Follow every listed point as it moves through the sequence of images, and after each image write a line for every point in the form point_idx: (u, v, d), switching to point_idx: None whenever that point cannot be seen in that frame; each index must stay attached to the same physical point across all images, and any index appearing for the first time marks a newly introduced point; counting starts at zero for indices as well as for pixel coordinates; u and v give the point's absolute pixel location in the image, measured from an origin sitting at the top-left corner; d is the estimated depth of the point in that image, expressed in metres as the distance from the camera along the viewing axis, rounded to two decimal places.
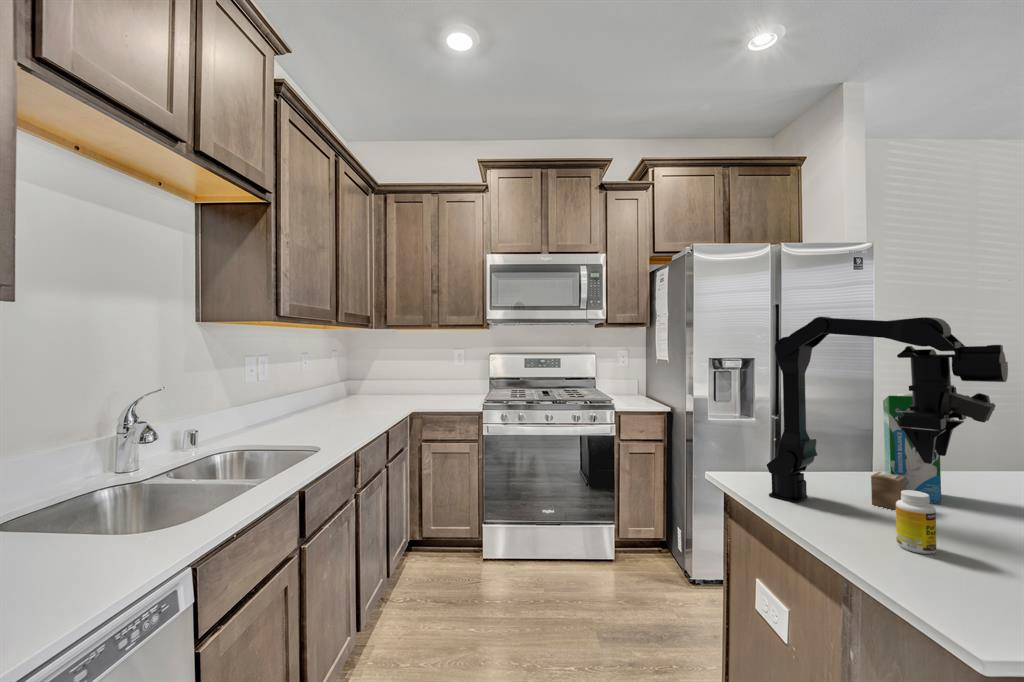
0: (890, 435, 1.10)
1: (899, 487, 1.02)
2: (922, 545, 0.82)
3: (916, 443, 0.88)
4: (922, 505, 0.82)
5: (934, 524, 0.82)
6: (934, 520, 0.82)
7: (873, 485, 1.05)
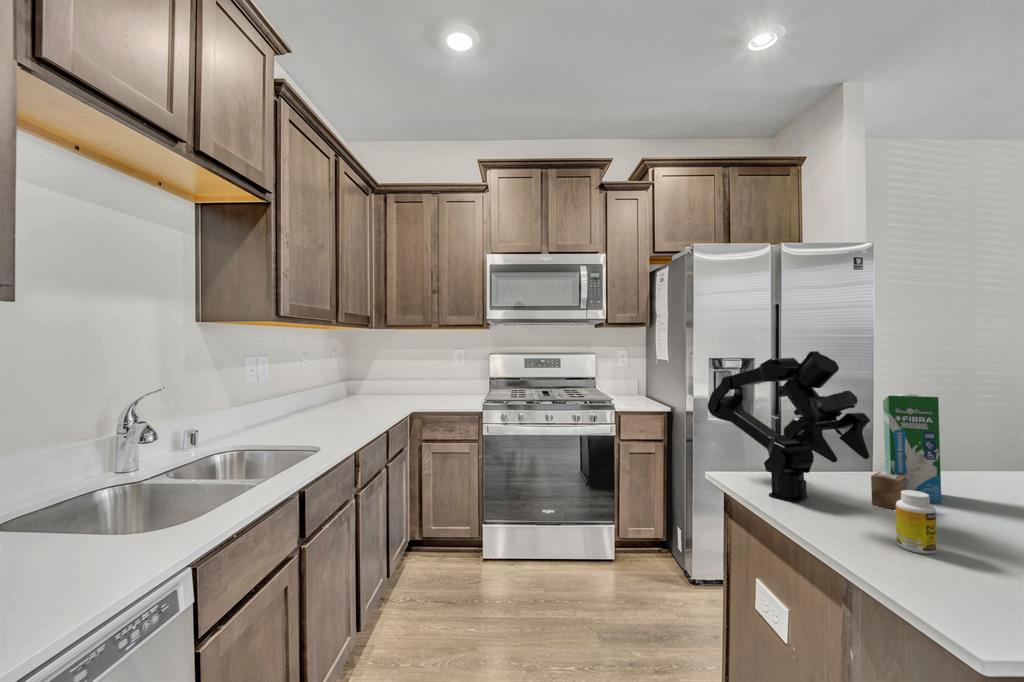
0: (890, 435, 1.10)
1: (899, 487, 1.02)
2: (922, 545, 0.82)
3: (815, 449, 0.98)
4: (922, 505, 0.82)
5: (934, 524, 0.82)
6: (934, 520, 0.82)
7: (873, 485, 1.05)
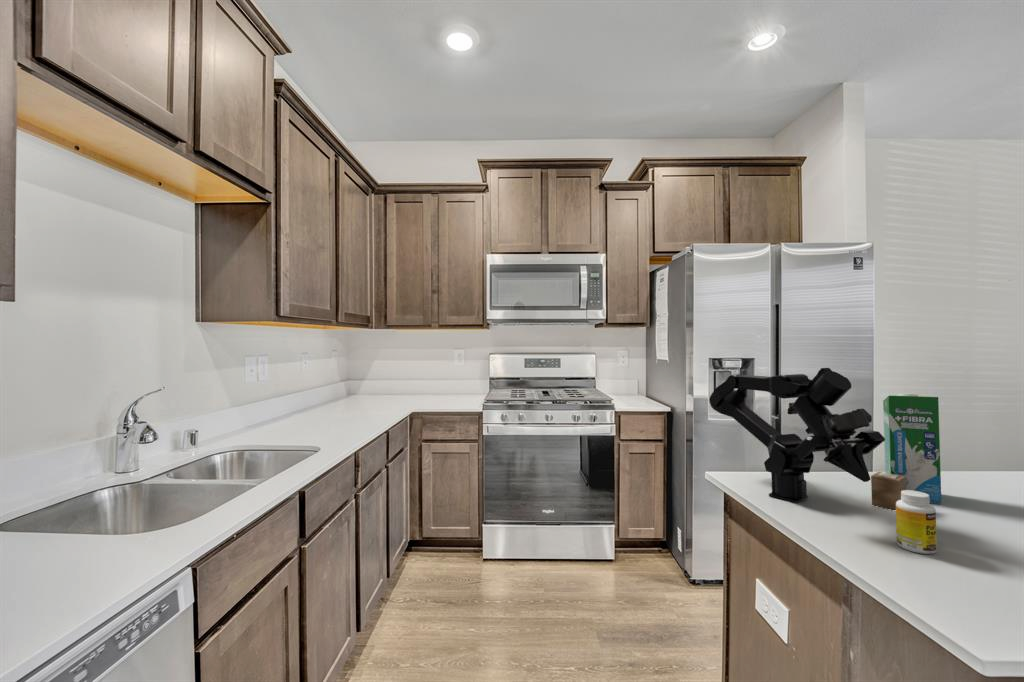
0: (890, 435, 1.10)
1: (899, 487, 1.02)
2: (922, 545, 0.82)
3: (845, 468, 0.96)
4: (922, 505, 0.82)
5: (934, 524, 0.82)
6: (934, 520, 0.82)
7: (873, 485, 1.05)
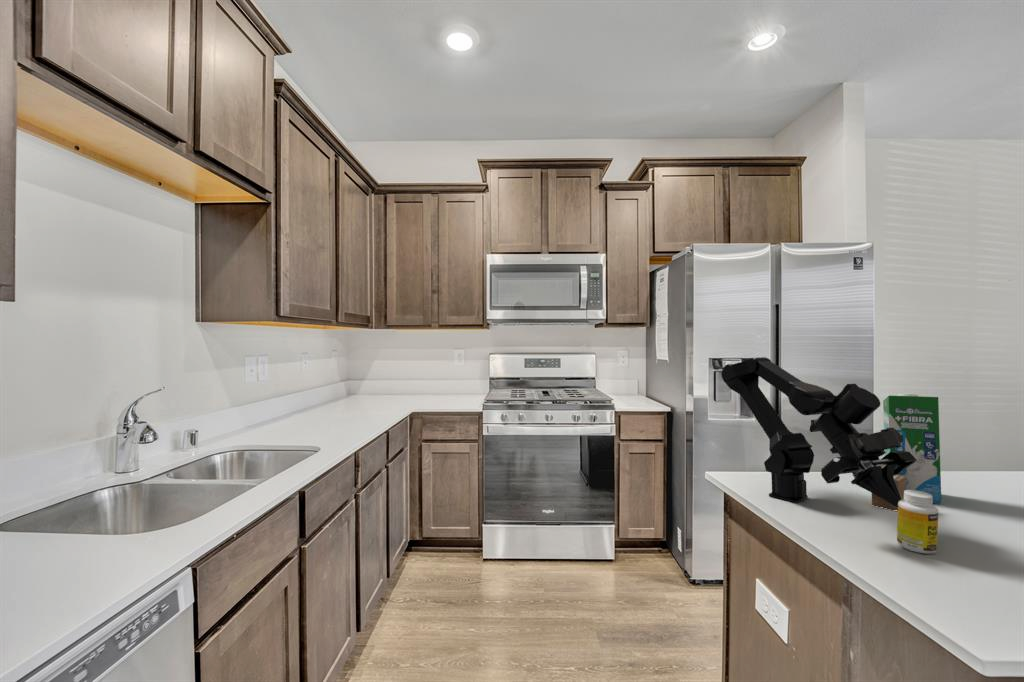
0: None
1: (899, 487, 1.02)
2: (923, 545, 0.82)
3: (874, 491, 0.90)
4: (925, 505, 0.82)
5: (936, 524, 0.82)
6: (936, 521, 0.81)
7: None
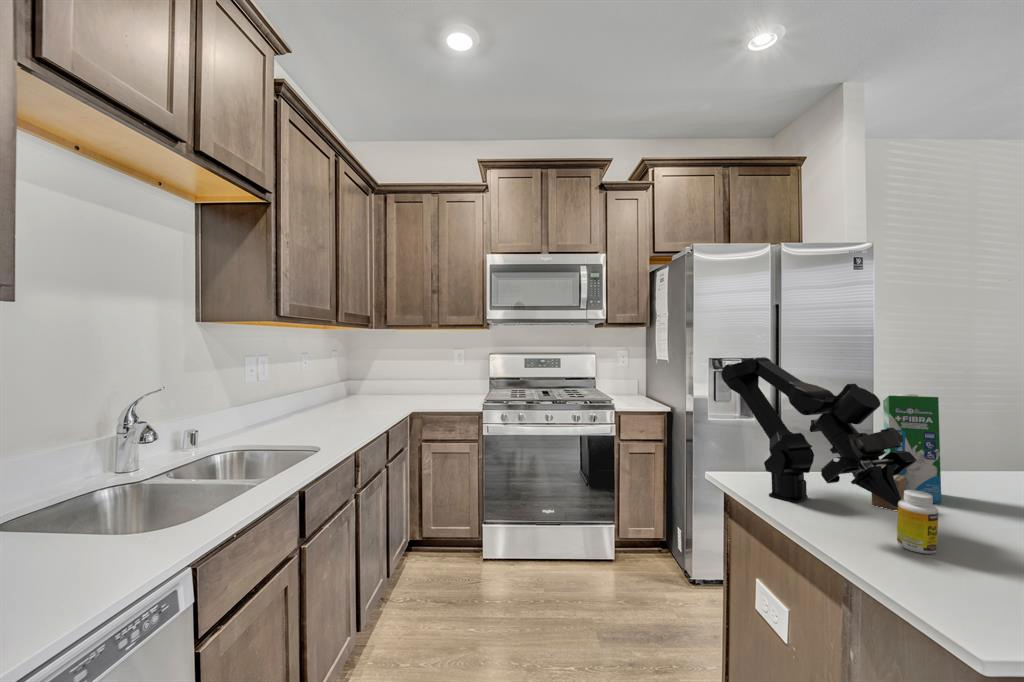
0: None
1: (899, 487, 1.02)
2: (923, 545, 0.82)
3: (874, 491, 0.90)
4: (925, 505, 0.82)
5: (936, 524, 0.82)
6: (936, 521, 0.81)
7: None
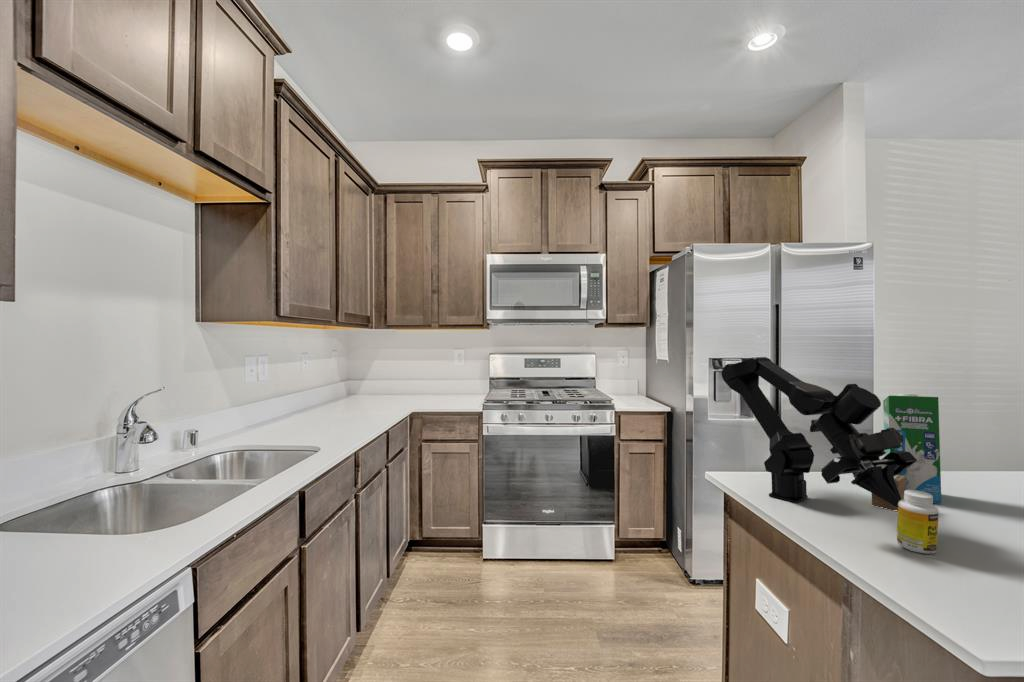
0: None
1: (899, 487, 1.02)
2: (923, 545, 0.82)
3: (875, 491, 0.90)
4: (925, 505, 0.82)
5: (936, 525, 0.82)
6: (936, 521, 0.81)
7: None
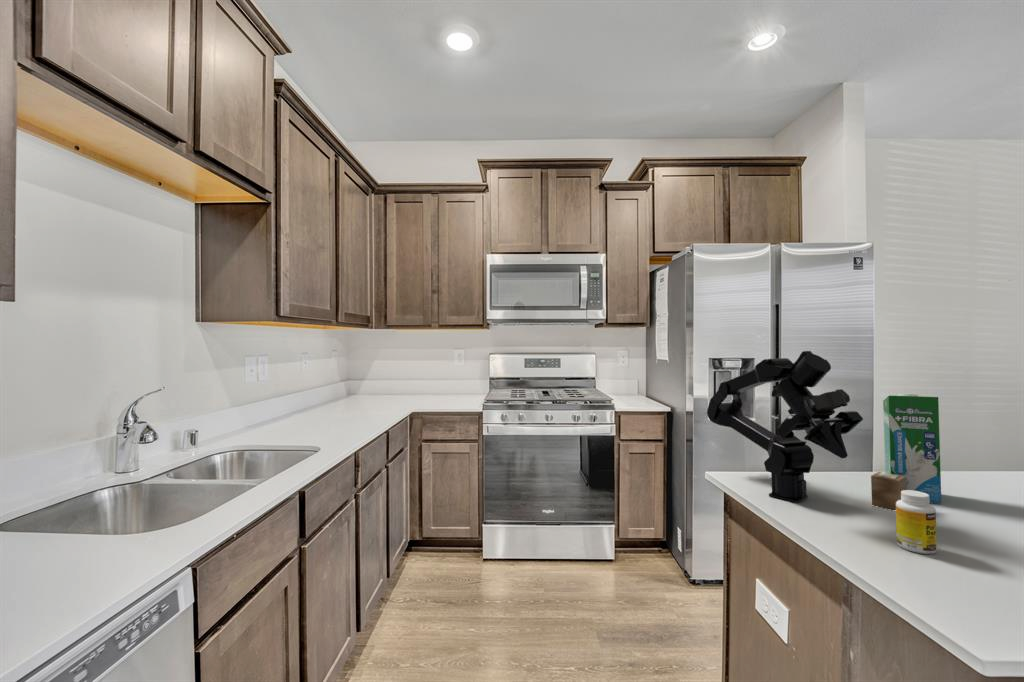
0: (890, 435, 1.10)
1: (899, 487, 1.02)
2: (922, 545, 0.82)
3: (824, 445, 1.01)
4: (922, 505, 0.82)
5: (934, 524, 0.82)
6: (934, 520, 0.82)
7: (873, 485, 1.05)
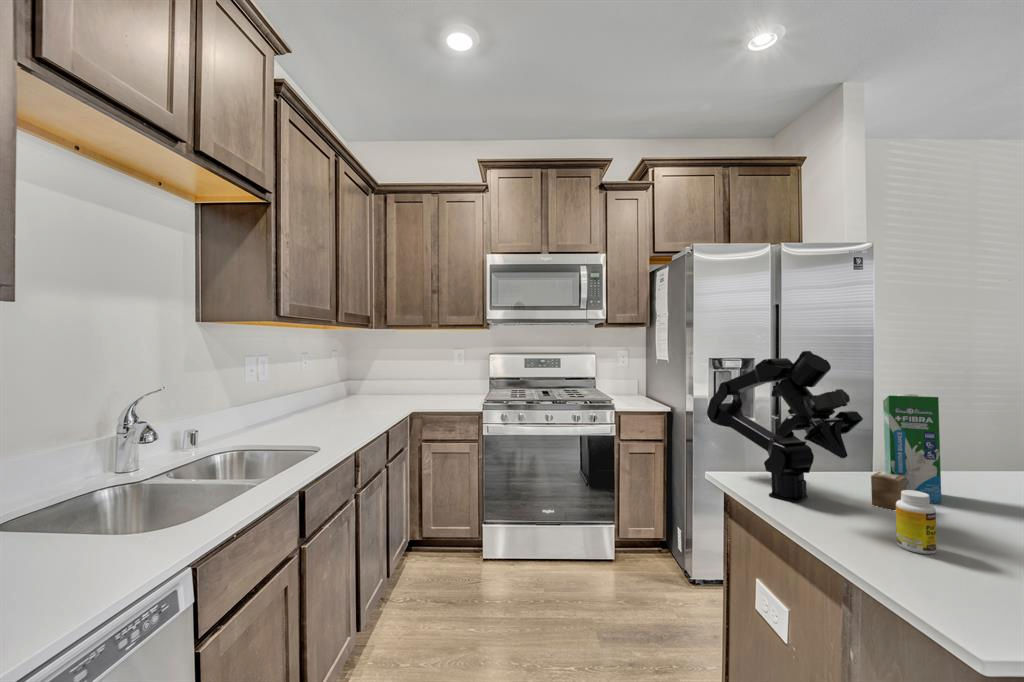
0: (890, 435, 1.10)
1: (899, 487, 1.02)
2: (922, 545, 0.82)
3: (824, 445, 1.01)
4: (922, 505, 0.82)
5: (934, 524, 0.82)
6: (934, 520, 0.82)
7: (873, 485, 1.05)
